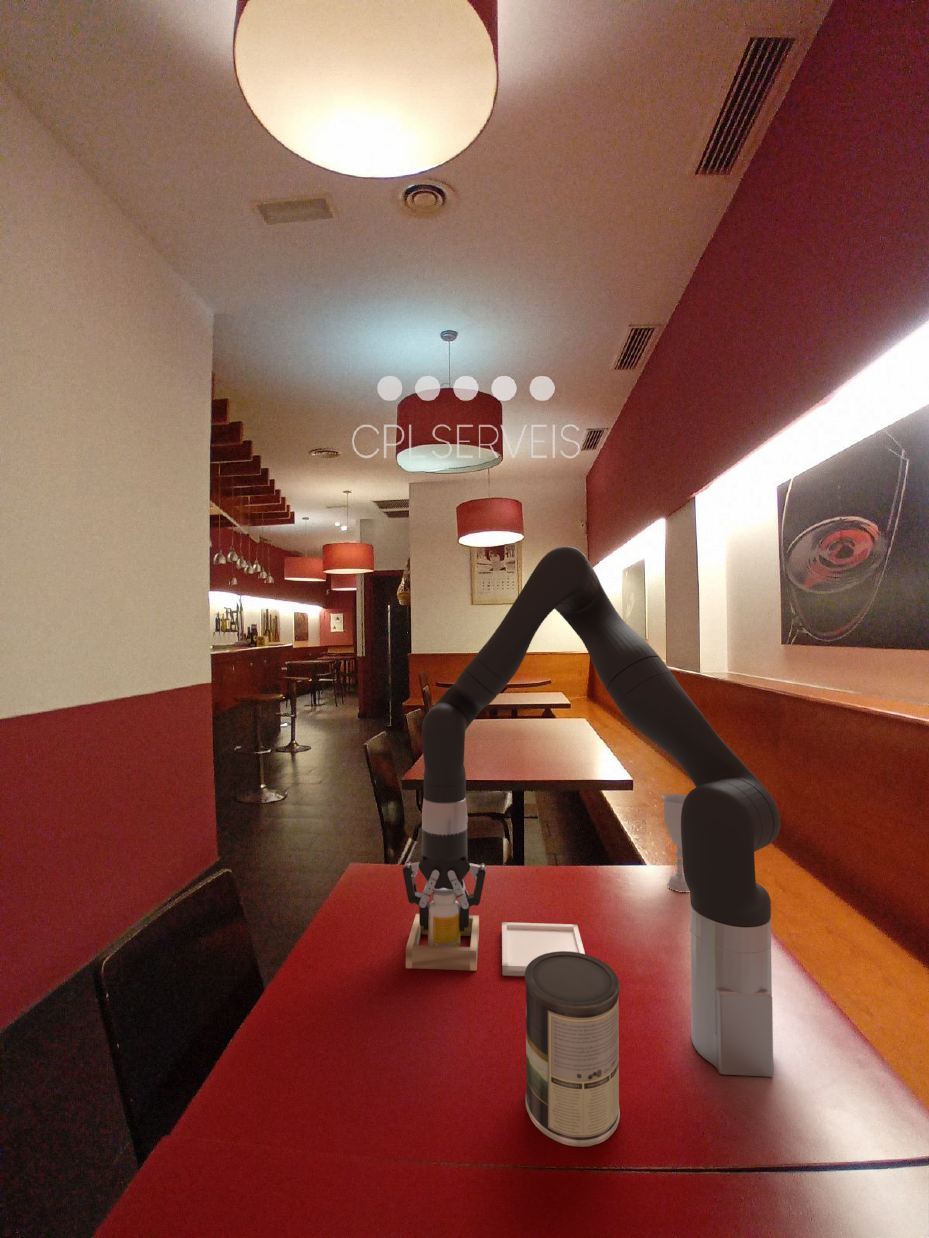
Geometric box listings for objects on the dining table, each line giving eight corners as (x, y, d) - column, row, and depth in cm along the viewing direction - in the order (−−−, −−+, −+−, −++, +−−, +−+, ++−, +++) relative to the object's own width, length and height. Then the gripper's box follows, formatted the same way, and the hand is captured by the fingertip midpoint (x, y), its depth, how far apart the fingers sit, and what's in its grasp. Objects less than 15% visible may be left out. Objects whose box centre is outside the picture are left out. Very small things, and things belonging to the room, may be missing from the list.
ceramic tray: (588, 978, 86) (588, 968, 86) (502, 975, 86) (502, 965, 86) (577, 933, 99) (577, 924, 99) (502, 930, 99) (502, 922, 99)
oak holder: (476, 970, 88) (476, 950, 88) (405, 967, 88) (405, 948, 88) (478, 933, 99) (478, 915, 99) (416, 930, 99) (416, 913, 99)
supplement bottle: (421, 948, 94) (421, 889, 94) (447, 937, 97) (447, 880, 98) (441, 962, 90) (441, 901, 90) (467, 950, 93) (467, 891, 93)
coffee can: (506, 1111, 62) (506, 980, 62) (555, 1057, 70) (554, 940, 70) (593, 1168, 55) (592, 1020, 56) (636, 1100, 63) (635, 972, 64)
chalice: (703, 895, 113) (702, 804, 113) (669, 895, 113) (668, 803, 114) (689, 879, 120) (689, 793, 121) (657, 879, 120) (656, 793, 121)
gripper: (397, 831, 91) (397, 939, 90) (487, 833, 90) (487, 942, 89) (405, 816, 98) (405, 915, 98) (488, 818, 97) (488, 918, 97)
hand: (444, 927), depth 94 cm, fingers closed on supplement bottle, 5 cm apart
